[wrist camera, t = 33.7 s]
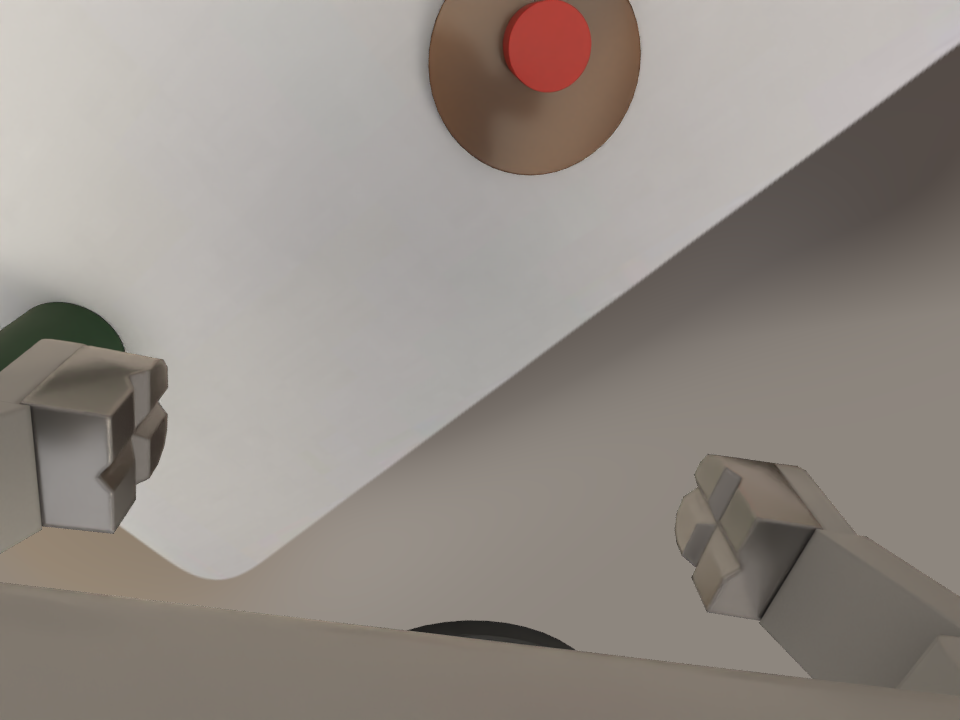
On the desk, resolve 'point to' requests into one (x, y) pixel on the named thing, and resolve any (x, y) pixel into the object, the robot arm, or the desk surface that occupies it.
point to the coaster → (519, 109)
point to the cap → (547, 45)
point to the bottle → (55, 330)
